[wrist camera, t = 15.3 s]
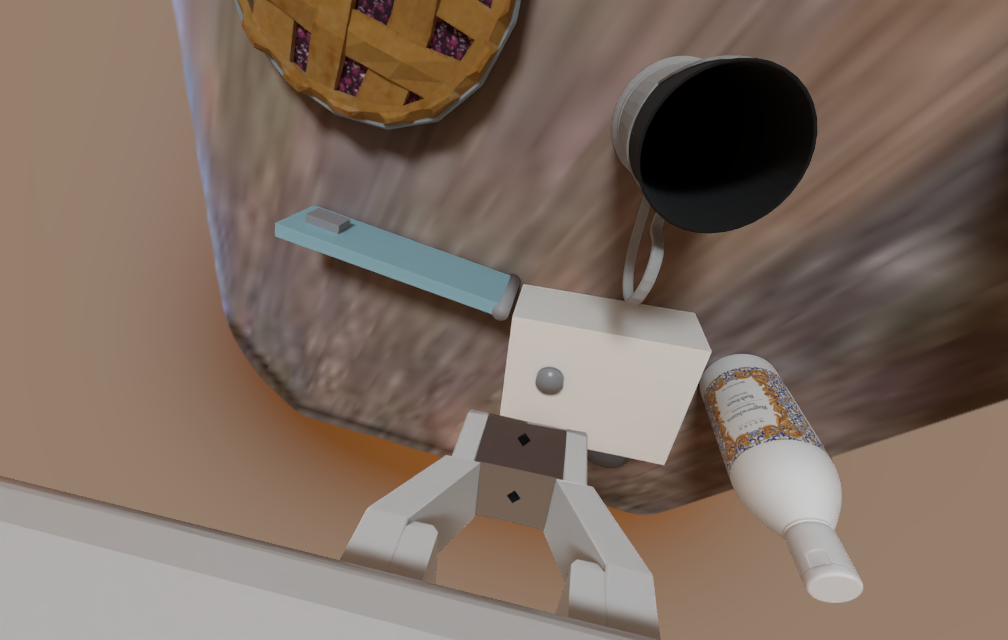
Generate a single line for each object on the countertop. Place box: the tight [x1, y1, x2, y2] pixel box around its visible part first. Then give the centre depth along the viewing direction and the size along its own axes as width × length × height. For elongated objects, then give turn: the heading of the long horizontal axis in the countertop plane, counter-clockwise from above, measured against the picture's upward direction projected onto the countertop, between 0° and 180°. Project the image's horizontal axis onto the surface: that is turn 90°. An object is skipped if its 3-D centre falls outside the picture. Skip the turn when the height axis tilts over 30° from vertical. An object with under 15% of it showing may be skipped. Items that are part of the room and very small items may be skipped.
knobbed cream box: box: [500, 284, 712, 468], centre depth 41 cm, size 16×16×7 cm
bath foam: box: [700, 354, 863, 603], centre depth 33 cm, size 7×7×20 cm
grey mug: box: [612, 56, 817, 305], centre depth 27 cm, size 9×14×15 cm, turn 164°
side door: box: [275, 205, 520, 321], centre depth 38 cm, size 2×21×7 cm, turn 73°
